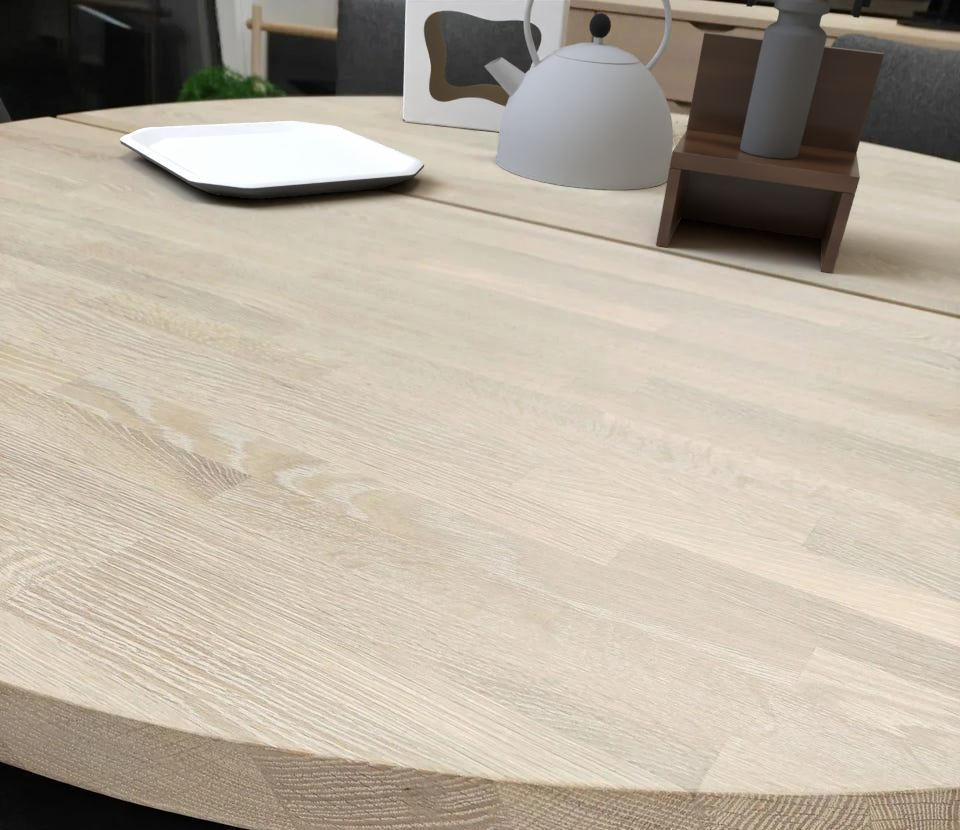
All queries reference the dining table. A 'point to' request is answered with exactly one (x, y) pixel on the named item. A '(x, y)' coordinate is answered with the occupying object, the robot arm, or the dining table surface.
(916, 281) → the dining table surface
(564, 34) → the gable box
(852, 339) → the dining table surface
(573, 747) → the dining table surface
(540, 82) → the kettle
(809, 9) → the bottle
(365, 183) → the plate
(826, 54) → the brown wooden stand
